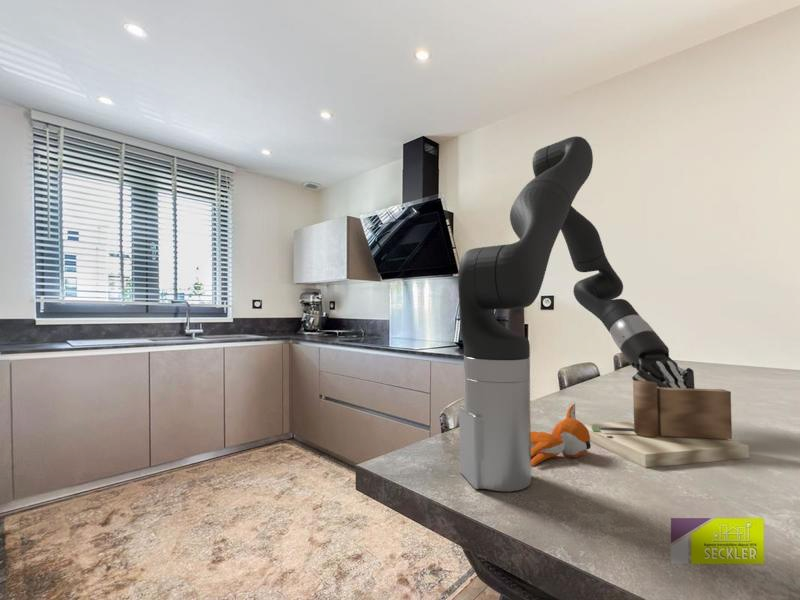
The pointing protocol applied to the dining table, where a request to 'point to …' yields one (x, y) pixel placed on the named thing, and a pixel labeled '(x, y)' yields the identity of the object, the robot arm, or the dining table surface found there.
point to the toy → (561, 439)
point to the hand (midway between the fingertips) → (693, 415)
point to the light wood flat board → (664, 446)
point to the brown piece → (680, 412)
